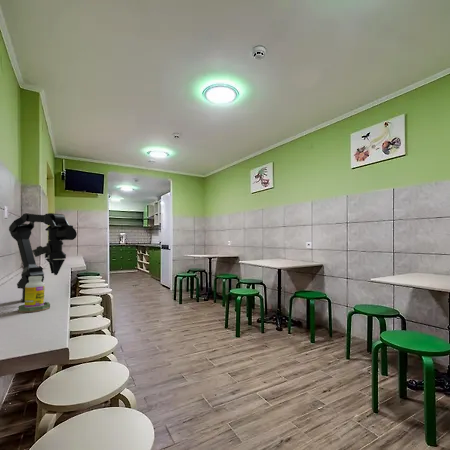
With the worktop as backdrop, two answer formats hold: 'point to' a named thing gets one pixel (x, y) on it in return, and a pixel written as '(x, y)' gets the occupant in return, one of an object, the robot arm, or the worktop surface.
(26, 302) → the supplement bottle
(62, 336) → the worktop surface
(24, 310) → the coaster ring
